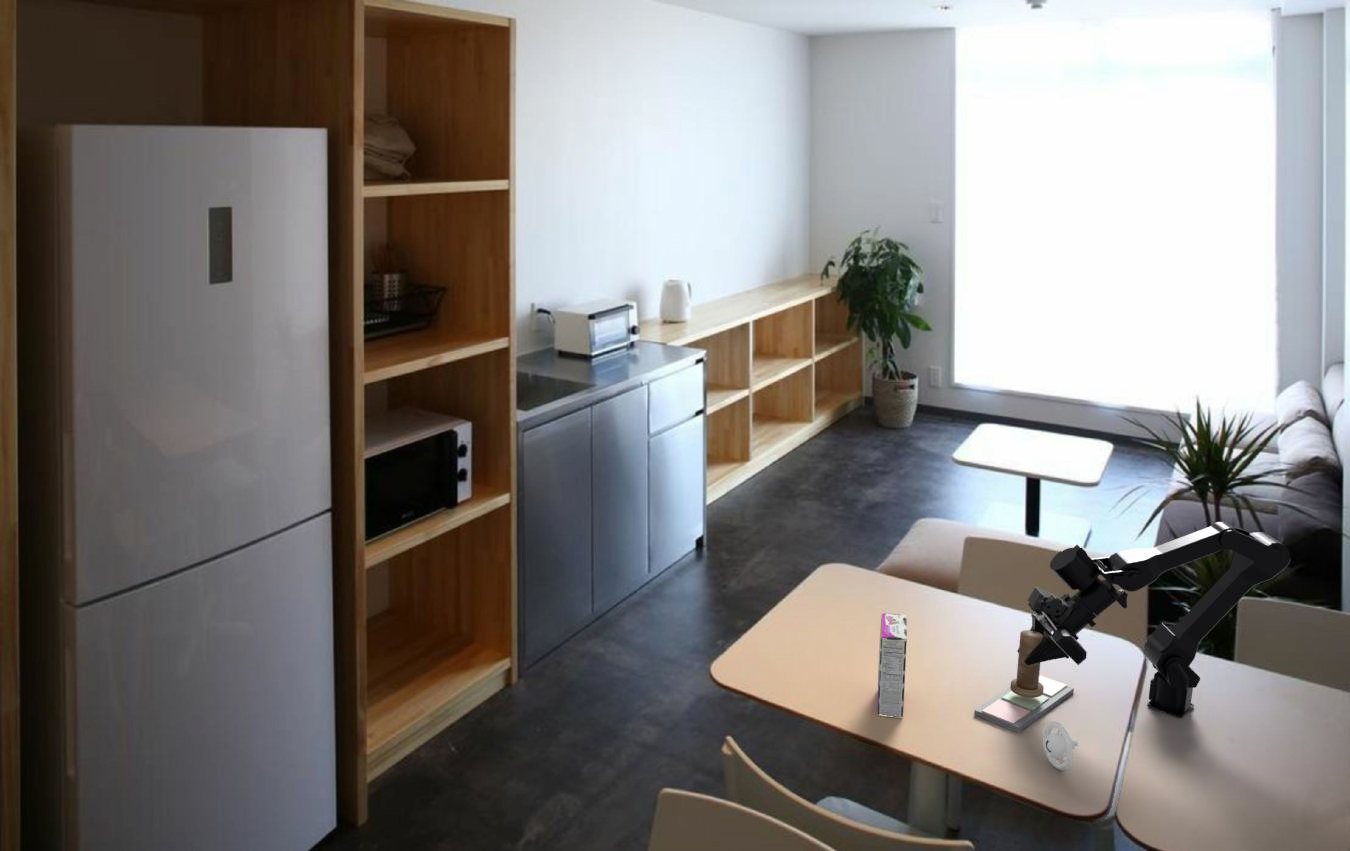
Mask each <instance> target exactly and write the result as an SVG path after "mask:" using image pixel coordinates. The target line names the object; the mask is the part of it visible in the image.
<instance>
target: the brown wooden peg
mask: <svg viewBox="0 0 1350 851" xmlns="http://www.w3.org/2000/svg"><path fill="white" fill-rule="evenodd" d="M1019 634H1020V635H1019V645H1018V649H1019V653H1018V659H1017V669H1016V678H1014V679H1012V680H1011V681H1010V686H1009V687H1010V689H1011V691H1012V692H1014V693H1015V694H1017V695H1020V696H1023V697H1030V698H1034V697H1039V696H1041V695H1042V694H1043V690H1044V687H1043V685H1042V684H1041V683H1040V682H1039V675H1040V669H1041V662H1040V663H1036V664H1032V665H1026V664H1025V663H1024V660H1025V659H1026V658H1027V656H1028V655H1029V654H1030V653H1031V652H1032V651H1033V650H1034V649H1035V648H1036V647H1037V646H1038V645H1039V644H1040V643H1041V642H1042V638H1043V635H1042V634H1041V633H1039V632H1037V631H1033V630H1030V629H1026V630H1024V629H1023V630H1021V631H1020V633H1019Z"/></svg>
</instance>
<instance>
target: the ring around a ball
mask: <svg viewBox="0 0 1350 851" xmlns="http://www.w3.org/2000/svg"><path fill="white" fill-rule="evenodd" d="M1053 729H1057V730H1058V731H1056V732H1052V733H1051V731H1052V730H1053ZM1070 736H1071V735H1070V734H1069V732H1068V731H1067V729H1066V727H1065V726H1063V725H1062V724H1061V723H1060V722H1058V721H1050V722H1048V723H1046V726H1045V727H1044V729H1043V734H1042V743H1043V749H1044V753H1045V755H1046V757H1047V759H1048V760H1049V762H1050V764H1051V765H1052V766H1053V767H1054V768H1055V769H1057V770H1060V771H1065V770H1068V768H1069V767H1070V766H1071V764H1072V762H1073V758H1074V757H1073V756H1074V751H1073V750H1074V749H1075V747H1077V746H1079V742H1078V741H1077V740H1073V738H1071V737H1070ZM1057 759H1058V760H1059V759H1060V760H1061V759H1063V762H1062V763H1060V762H1059V761H1058V760H1057Z"/></svg>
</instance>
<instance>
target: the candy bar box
mask: <svg viewBox="0 0 1350 851" xmlns="http://www.w3.org/2000/svg"><path fill="white" fill-rule="evenodd" d="M880 617H881V618H880V629H879V630H880V632H879V633H880V634H879V650H878V651H879V652H878V672H877V673H878V675H877V676H878V677H877V715H878V714H882V715H887V716H893V717H903V718H904V704H905V703H904V702H905V688H906V687H905V684H906V666H907V665H906V663H907V644H908V643H907V642H908V641H907V640H908V630H907V628H908V627H907V626H908V625H907V624H908V623H907V622H908V621H907V615H906V614H896V613H885V612H882V613H881V616H880Z"/></svg>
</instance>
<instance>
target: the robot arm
mask: <svg viewBox="0 0 1350 851" xmlns="http://www.w3.org/2000/svg"><path fill="white" fill-rule="evenodd" d="M1225 550H1229V551H1233V553H1234V556H1233V557H1232V558H1233V559H1232V561H1231V562H1232V563H1231V566H1230V567H1229V569H1228V570H1227V571H1226V572H1225V573H1224V574H1223V575H1222V576H1221V577H1220V578H1219V579H1218V580H1217V581H1216V583H1214V584H1213V586H1212V587H1211V588H1210V589H1209V590H1208V591H1207V592H1206V593H1205V594H1204V595H1203V596H1202V597H1201V598H1200V599H1199V600H1198V601H1197V602H1196V604H1194V606H1193V607H1191V609H1190V610H1189V611H1188V612H1187V613H1186V614H1185V615H1184V616H1183V617H1182V618H1181V619H1180V621H1178V622H1177V623H1175V624H1173V625H1169V626H1166V625H1165V624H1164V623H1163V622H1162V623H1160V624H1159V625H1157V627H1156V629H1155V630H1154V631H1153V632H1152V633H1150V634H1149V635H1147V636H1146V639H1147V641H1146V642H1145V644H1144V646H1143V648H1144V654H1145V657H1146V658H1147V659H1148V660H1149V661H1150V663H1151V665H1152V667H1153V668H1154V669H1155V670H1156V672H1155V673H1154V675H1153V678H1152V679H1151V680H1150V681H1149V692H1148V700H1149V701H1148V702H1147V704H1146V705H1147V707H1149V708H1151V709H1155V710H1157V711H1161V712H1163V713H1166V714H1168V715H1172V716H1174V717H1178V718H1183V717H1184V716H1185V715H1187V713H1189V712H1190V711H1191V710H1192V709H1193V708H1194V707H1195V704H1194V703H1192V697H1193V691H1194V690H1193V689H1195V688H1197V686H1198V685H1199V683H1200V681H1201V677H1200V675H1198V674H1197V673H1196V672H1195V671H1194V669H1192V668H1191V664H1192V662H1193V661H1194V660H1195V658H1196V655H1197V652H1198V648H1199V646H1200V643H1201V641H1202V640H1203V639H1204V638H1205V637H1206V636H1207V635H1208V634H1209V633H1210V631H1212V630H1213V629H1214V627H1215V626H1216V625H1217V624H1218V623H1219V622H1220V621H1221V620H1222V619H1223V618H1224V617H1225V616H1226V615H1227V614H1228V613H1229V612H1230V610H1232V609H1233V608H1234V607H1235V606H1236V605H1237V604H1238V602H1240V601H1241V599H1242V598H1243V597H1244V596H1245V595H1246V594H1247V593H1248V592H1249V591H1250V590H1251V589H1252V588H1253V587H1254V586H1256V585H1259V584H1262V583H1265V582H1267V581H1270V580H1272V579H1273V578H1274V577H1276V576H1277V575H1278V574H1280V573H1282V571H1284V570H1285V569H1286V568H1287V567H1288V565H1289V564H1290V562H1291V552H1290V550H1289V549H1288V546H1286V545H1285V544H1283V543H1281V542H1280V541H1279V540H1277V539H1276V538H1274V537H1272V536H1271V535H1269V534H1267V533H1266V532H1262V531H1259V532H1258V531H1257V532H1250V531H1247V530H1246V529H1245V530H1244V529H1243V528H1239V527H1237V526H1232V525H1229V523H1226V522H1223V521H1217V522H1213V523H1212V524H1211V525H1210V526H1208V527H1205V528H1202V529H1200V530H1197V531H1194V532H1191V533H1189V534H1186V535H1183V536H1181V537H1178V538H1175V539H1173V540H1170V541H1168V542H1165V543H1162V544H1159V545H1156V546H1154V547H1149V548H1132V549H1126V550H1122V551H1117V552H1114V553H1113V554H1111V555H1110V556H1102V557H1094V558H1091V557H1090V556H1089V555H1088V553H1087V551H1086V550H1085V549H1084V548H1083V547H1082V546H1081V545H1080V544H1079V543H1077V544H1076V545H1075V546H1073V547H1068V548H1065V549H1063V550H1060V551H1059V552H1057V553H1056V554H1055V555H1054V557H1053V558H1052V559H1051V561H1050V562H1049V567H1050V569H1051V570H1052V571H1053V572H1054V574H1055V575H1056V576H1058V578H1059V579H1060V580H1061V581H1062V582H1063V583H1064V584H1065V585H1066V586H1067V587H1068V588H1069V589H1070V590H1072V591H1073V590H1074V591H1076V590H1077V591H1076V592H1075V593H1073V594H1072V595H1070V594H1069V593H1067V594H1066V593H1064V594H1063V595H1062V596H1061V597H1059V596H1058V595H1056V594H1054V593H1052V592H1050V591H1048V590H1046V589H1044V588H1043V589H1042V588H1041V587H1039V586H1037V585H1036V586H1035V587H1034V588H1033V590H1032V592H1031V593H1030V595H1029V597H1028V599H1027V602H1028V603H1027V605H1028V607H1029V608H1030V609H1031V611H1032V612H1035V614H1034V613H1031V616H1030V617H1031V627H1030V628H1029V630H1033V631H1037V632H1039V633H1041V634H1042V635H1043V638H1042V642H1041V643H1040V644H1039V645H1038V646H1037V647H1036V648H1035V649H1034V650H1033V651H1032V652H1031V653H1030V654H1029V655H1028V656H1027V658H1026V659H1025V660H1024V663H1025V664H1026V665H1032V664H1036V663H1040V664H1041V663H1044V662H1049V661H1054V660H1057V659H1065V658H1066V659H1072V661H1073V662H1074V663H1075V664H1076V665H1077V666H1079V665H1080V664H1082V663H1083V662H1084V661H1085V660H1086V659H1087V654H1088V652H1087V651H1086V649H1085V648H1084V647H1083V645H1082V644H1081V643H1080V642H1079V641H1078V640H1079V639H1080V637H1079V636H1078V634H1079V632H1081V631H1083V629H1085V628H1086V627H1087V626H1088V625H1089V626H1090V627H1091V628H1093V627H1094V626H1096V625H1097V623H1096V622H1095V620H1096V619H1097V617H1099V616H1100V615H1102V614H1103V613H1104V612H1106V611H1107V610H1108V609H1109V608H1110V607H1111V606H1113V605H1114V604H1115V603H1118V604H1119V606H1120V607H1122V608H1123V609H1127V608H1128V600H1127V599H1128V595H1129V594H1128V593H1127V592H1126V591H1128V592H1131V593H1132V592H1137V591H1140V590H1141V589H1143V588H1145V587H1147V586H1149V585H1150V584H1152V583H1154V582H1155V581H1156V580H1157V579H1158V578H1159V577H1160V576H1161V575H1162V574H1163V573H1165V572H1168V571H1170V570H1172V569H1175V568H1178V567H1181V566H1183V565H1186V564H1189V563H1191V562H1194V561H1196V560H1199V559H1203V558H1205V557H1208V556H1210V555H1214V554H1216V553H1219V552H1221V551H1225ZM1099 576H1101V577H1102V578H1103V580H1102V579H1100V578H1099ZM1116 585H1117V586H1118V587H1120V588H1121V589H1118V588H1117V587H1116ZM1016 652H1017V653H1018V654H1019V648H1018V649H1017V651H1016Z"/></svg>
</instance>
